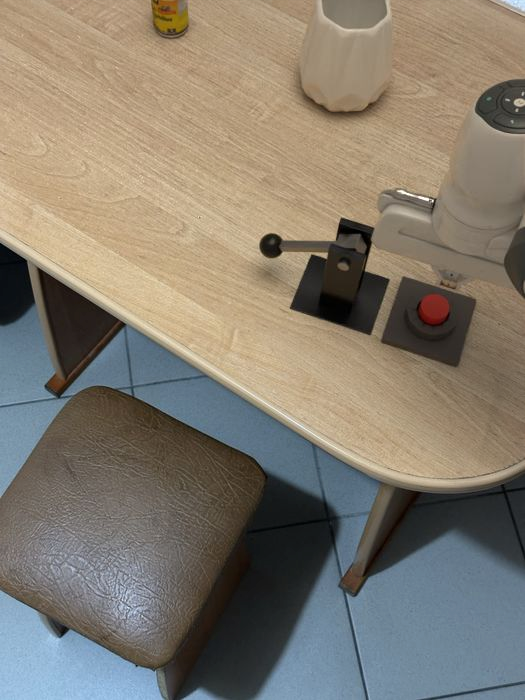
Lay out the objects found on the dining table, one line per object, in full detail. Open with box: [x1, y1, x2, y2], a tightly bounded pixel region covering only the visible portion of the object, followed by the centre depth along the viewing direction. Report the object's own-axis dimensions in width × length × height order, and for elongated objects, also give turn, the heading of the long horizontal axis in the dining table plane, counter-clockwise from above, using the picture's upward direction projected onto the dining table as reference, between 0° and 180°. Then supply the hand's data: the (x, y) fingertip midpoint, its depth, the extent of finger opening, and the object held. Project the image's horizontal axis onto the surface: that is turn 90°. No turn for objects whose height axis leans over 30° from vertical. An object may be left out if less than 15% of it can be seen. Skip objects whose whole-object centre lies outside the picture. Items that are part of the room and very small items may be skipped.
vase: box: [298, 0, 395, 113], centre depth 121 cm, size 14×14×15 cm
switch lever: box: [258, 232, 367, 260], centre depth 103 cm, size 14×3×3 cm, turn 70°
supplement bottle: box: [150, 0, 190, 39], centre depth 128 cm, size 6×6×10 cm
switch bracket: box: [289, 217, 390, 336], centre depth 105 cm, size 11×9×14 cm
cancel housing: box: [380, 275, 477, 368], centre depth 108 cm, size 10×10×4 cm
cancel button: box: [418, 294, 450, 325], centre depth 105 cm, size 4×4×2 cm
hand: (448, 283), depth 100 cm, fingers closed
